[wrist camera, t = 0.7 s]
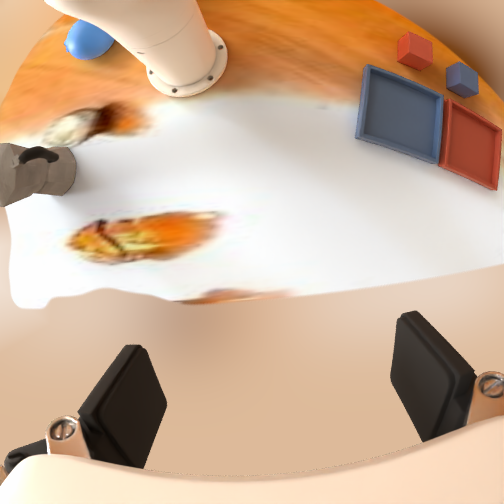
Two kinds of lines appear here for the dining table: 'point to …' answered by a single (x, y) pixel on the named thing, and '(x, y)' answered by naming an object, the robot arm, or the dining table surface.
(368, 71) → the blue tray
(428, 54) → the red block
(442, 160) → the red tray
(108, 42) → the blue mole toy
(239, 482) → the robot arm
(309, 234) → the dining table surface
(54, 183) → the coffeepot
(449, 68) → the blue block
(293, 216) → the dining table surface
